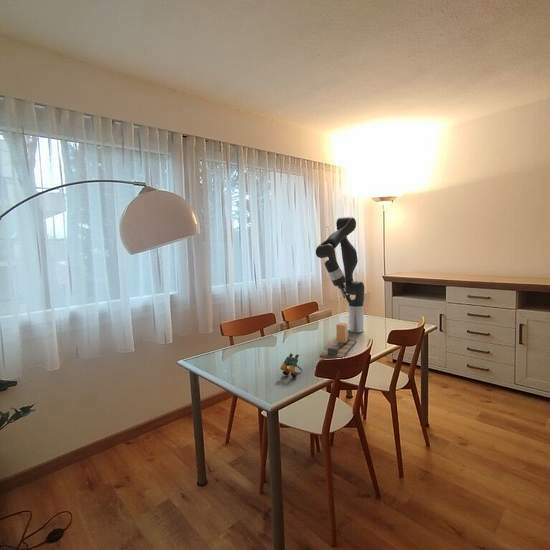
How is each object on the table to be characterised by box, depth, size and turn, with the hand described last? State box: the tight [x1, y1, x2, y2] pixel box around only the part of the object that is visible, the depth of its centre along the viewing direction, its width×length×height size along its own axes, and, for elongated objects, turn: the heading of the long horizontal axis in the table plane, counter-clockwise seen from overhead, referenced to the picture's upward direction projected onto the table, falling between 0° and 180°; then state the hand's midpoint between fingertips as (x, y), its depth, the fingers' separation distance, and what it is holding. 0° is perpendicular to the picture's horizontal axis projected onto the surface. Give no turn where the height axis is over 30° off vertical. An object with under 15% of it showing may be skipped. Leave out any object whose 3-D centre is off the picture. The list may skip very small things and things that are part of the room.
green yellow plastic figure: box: [279, 352, 303, 378], centre depth 150 cm, size 9×9×10 cm
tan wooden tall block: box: [335, 322, 349, 343], centre depth 186 cm, size 5×5×10 cm
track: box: [319, 335, 357, 359], centre depth 182 cm, size 30×12×4 cm, turn 152°
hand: (347, 299), depth 190 cm, fingers open, 8 cm apart
